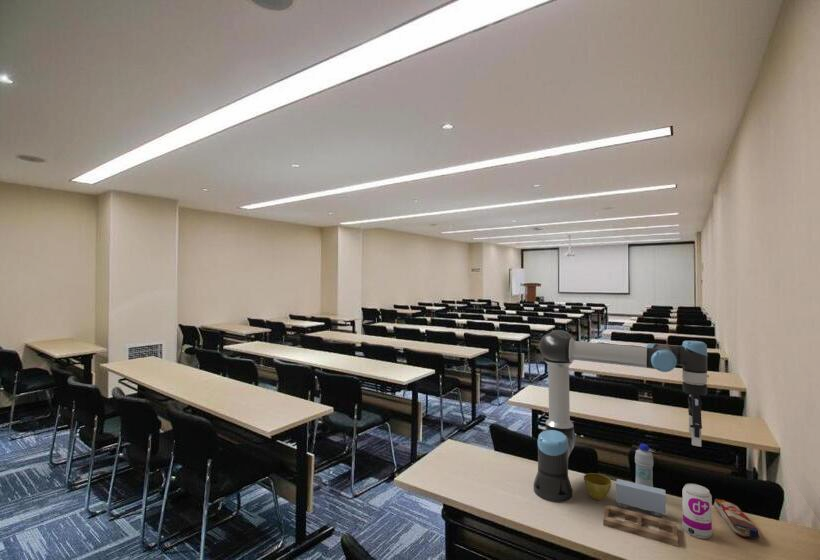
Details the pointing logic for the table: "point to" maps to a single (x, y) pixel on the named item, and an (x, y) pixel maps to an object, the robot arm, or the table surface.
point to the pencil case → (736, 519)
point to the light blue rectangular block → (641, 497)
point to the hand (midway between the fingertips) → (694, 439)
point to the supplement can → (697, 511)
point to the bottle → (644, 466)
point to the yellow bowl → (597, 485)
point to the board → (638, 528)
